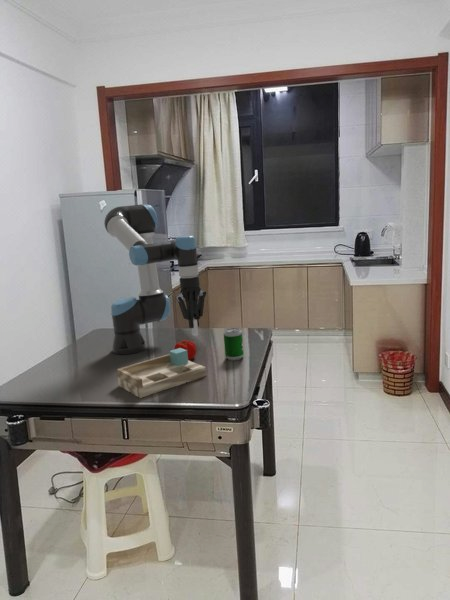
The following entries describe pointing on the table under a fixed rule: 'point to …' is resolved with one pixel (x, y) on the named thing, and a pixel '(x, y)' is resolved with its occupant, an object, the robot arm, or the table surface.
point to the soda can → (233, 344)
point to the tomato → (187, 348)
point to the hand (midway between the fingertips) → (195, 335)
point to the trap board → (157, 375)
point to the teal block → (178, 356)
